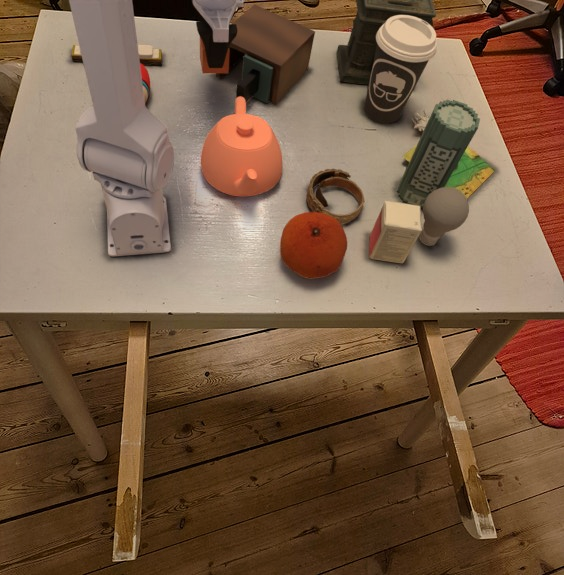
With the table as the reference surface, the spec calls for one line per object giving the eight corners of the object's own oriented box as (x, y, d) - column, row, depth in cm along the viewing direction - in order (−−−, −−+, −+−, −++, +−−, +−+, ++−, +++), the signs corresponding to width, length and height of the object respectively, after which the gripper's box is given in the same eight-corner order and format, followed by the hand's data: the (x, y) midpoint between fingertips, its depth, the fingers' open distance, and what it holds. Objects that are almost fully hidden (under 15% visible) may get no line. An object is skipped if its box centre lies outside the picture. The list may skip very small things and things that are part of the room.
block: (228, 73, 80) (229, 49, 76) (202, 73, 79) (202, 49, 76) (225, 57, 82) (225, 33, 78) (199, 57, 81) (199, 33, 78)
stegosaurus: (410, 114, 84) (428, 135, 84) (427, 106, 89) (445, 126, 89) (400, 124, 86) (418, 145, 86) (417, 116, 91) (434, 136, 91)
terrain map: (459, 206, 80) (461, 204, 80) (401, 157, 83) (402, 155, 82) (495, 170, 86) (497, 168, 85) (440, 125, 88) (441, 123, 88)
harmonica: (72, 62, 86) (70, 51, 85) (74, 51, 88) (71, 40, 86) (161, 66, 89) (160, 56, 87) (161, 55, 90) (161, 44, 89)
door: (252, 119, 84) (255, 85, 79) (225, 106, 85) (226, 71, 79) (269, 101, 87) (273, 67, 81) (242, 89, 88) (245, 54, 82)
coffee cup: (418, 125, 89) (453, 45, 77) (370, 134, 86) (398, 53, 74) (392, 89, 94) (422, 8, 81) (346, 97, 91) (369, 14, 78)
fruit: (273, 280, 70) (279, 258, 62) (282, 222, 73) (289, 194, 65) (337, 291, 70) (351, 270, 63) (343, 232, 73) (357, 206, 65)
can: (439, 186, 82) (482, 109, 69) (432, 213, 78) (476, 137, 66) (402, 173, 82) (438, 94, 69) (394, 199, 79) (430, 122, 66)
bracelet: (320, 172, 80) (323, 158, 77) (370, 196, 79) (376, 183, 76) (295, 208, 75) (298, 195, 73) (348, 234, 74) (353, 221, 72)
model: (340, 84, 92) (362, 1, 80) (334, 53, 97) (354, -30, 84) (413, 90, 94) (445, 10, 82) (404, 59, 99) (433, -21, 86)
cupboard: (275, 105, 87) (281, 65, 81) (215, 76, 89) (216, 36, 83) (307, 70, 93) (315, 31, 87) (251, 44, 95) (254, 4, 89)
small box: (402, 240, 75) (421, 205, 68) (403, 264, 73) (423, 230, 66) (368, 235, 75) (384, 198, 68) (368, 259, 72) (384, 224, 66)
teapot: (274, 134, 83) (281, 84, 75) (288, 222, 74) (299, 175, 66) (198, 134, 81) (197, 82, 73) (203, 223, 72) (203, 176, 64)
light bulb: (420, 217, 78) (446, 170, 69) (453, 240, 76) (484, 194, 68) (399, 240, 75) (424, 193, 67) (434, 264, 74) (463, 219, 65)
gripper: (254, -4, 65) (246, 87, 76) (237, -63, 72) (232, 29, 84) (197, -5, 63) (198, 88, 75) (186, -65, 71) (189, 29, 82)
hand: (213, 57), depth 79 cm, fingers closed on block, 4 cm apart
